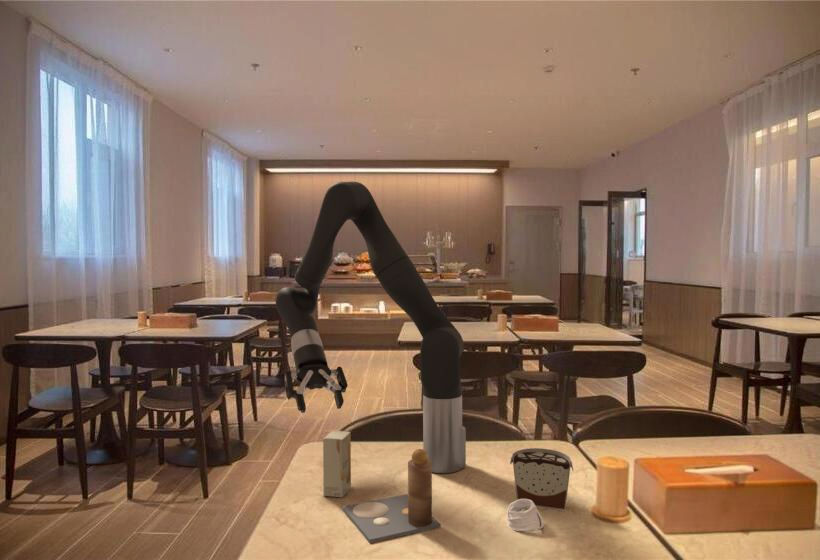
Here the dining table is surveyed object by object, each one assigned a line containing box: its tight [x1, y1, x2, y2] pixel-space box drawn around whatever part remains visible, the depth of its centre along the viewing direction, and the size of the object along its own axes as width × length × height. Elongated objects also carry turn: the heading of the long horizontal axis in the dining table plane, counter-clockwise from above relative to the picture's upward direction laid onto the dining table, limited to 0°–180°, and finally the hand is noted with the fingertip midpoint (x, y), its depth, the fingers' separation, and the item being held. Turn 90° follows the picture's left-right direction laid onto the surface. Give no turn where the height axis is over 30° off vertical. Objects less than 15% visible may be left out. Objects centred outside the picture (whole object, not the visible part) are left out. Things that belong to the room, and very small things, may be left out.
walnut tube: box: [407, 448, 433, 527], centre depth 107 cm, size 4×4×14 cm
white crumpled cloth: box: [506, 499, 545, 532], centre depth 107 cm, size 8×7×5 cm
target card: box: [341, 493, 442, 544], centre depth 110 cm, size 14×15×1 cm
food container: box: [509, 447, 574, 511], centre depth 117 cm, size 12×6×10 cm, turn 71°
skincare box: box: [322, 430, 352, 498], centre depth 122 cm, size 6×4×12 cm
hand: (322, 409), depth 132 cm, fingers open, 8 cm apart
